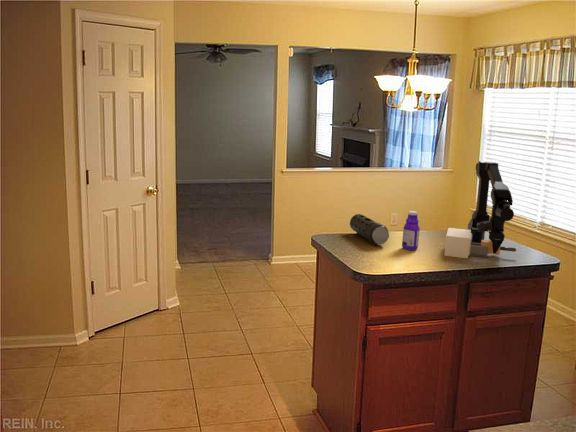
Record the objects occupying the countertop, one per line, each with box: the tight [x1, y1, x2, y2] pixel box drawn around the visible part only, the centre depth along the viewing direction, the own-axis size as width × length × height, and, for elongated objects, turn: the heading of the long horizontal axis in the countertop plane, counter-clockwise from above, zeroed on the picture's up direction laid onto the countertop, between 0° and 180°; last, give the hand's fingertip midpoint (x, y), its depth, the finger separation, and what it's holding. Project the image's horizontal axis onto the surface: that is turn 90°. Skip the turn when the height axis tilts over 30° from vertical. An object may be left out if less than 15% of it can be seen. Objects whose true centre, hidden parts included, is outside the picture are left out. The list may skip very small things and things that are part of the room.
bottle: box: [401, 210, 420, 251], centre depth 267 cm, size 7×6×17 cm
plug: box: [481, 239, 517, 256], centre depth 260 cm, size 15×4×5 cm, turn 72°
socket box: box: [444, 227, 489, 259], centre depth 264 cm, size 18×18×9 cm
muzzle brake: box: [349, 213, 390, 245], centre depth 282 cm, size 10×28×10 cm, turn 15°
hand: (494, 250), depth 261 cm, fingers open, 9 cm apart
